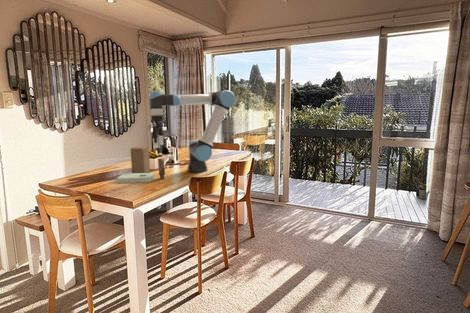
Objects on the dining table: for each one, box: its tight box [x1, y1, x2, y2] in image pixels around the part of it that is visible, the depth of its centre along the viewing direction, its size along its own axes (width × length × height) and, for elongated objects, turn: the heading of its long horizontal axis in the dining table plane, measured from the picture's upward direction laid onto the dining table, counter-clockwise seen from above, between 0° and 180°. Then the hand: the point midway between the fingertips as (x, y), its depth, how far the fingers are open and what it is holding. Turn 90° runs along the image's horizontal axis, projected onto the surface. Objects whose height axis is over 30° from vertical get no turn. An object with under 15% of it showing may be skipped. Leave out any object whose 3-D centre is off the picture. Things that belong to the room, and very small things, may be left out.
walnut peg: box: [157, 157, 166, 180], centre depth 206 cm, size 4×4×14 cm
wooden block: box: [129, 145, 151, 173], centre depth 221 cm, size 10×10×20 cm
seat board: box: [116, 172, 156, 184], centre depth 205 cm, size 22×14×3 cm, turn 91°
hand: (158, 146), depth 204 cm, fingers open, 13 cm apart
